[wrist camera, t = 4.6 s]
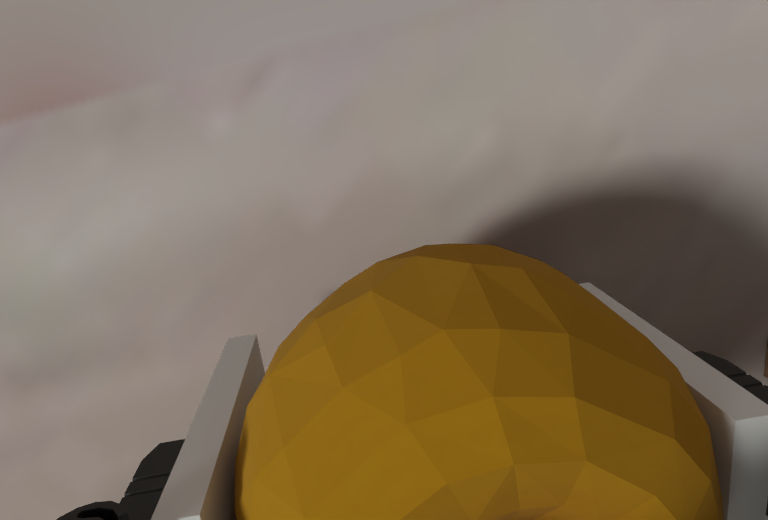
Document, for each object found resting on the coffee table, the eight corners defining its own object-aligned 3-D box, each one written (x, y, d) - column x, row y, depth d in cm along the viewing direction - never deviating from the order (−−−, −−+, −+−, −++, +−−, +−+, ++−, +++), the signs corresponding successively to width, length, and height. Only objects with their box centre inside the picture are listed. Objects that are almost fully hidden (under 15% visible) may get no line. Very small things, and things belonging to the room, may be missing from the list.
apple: (281, 489, 16) (227, 922, 7) (248, 214, 13) (114, 399, 5) (553, 460, 17) (784, 828, 8) (569, 195, 14) (922, 328, 6)
